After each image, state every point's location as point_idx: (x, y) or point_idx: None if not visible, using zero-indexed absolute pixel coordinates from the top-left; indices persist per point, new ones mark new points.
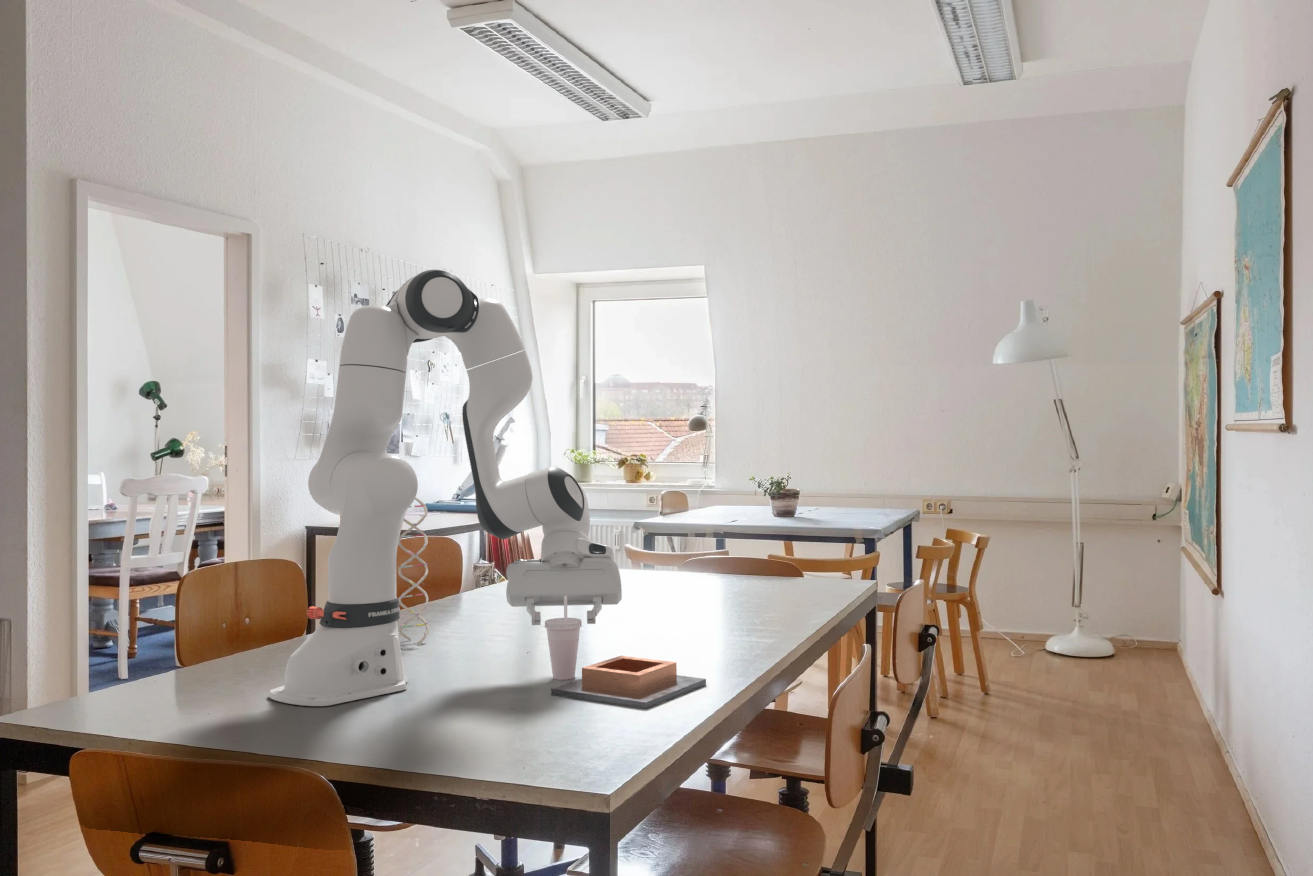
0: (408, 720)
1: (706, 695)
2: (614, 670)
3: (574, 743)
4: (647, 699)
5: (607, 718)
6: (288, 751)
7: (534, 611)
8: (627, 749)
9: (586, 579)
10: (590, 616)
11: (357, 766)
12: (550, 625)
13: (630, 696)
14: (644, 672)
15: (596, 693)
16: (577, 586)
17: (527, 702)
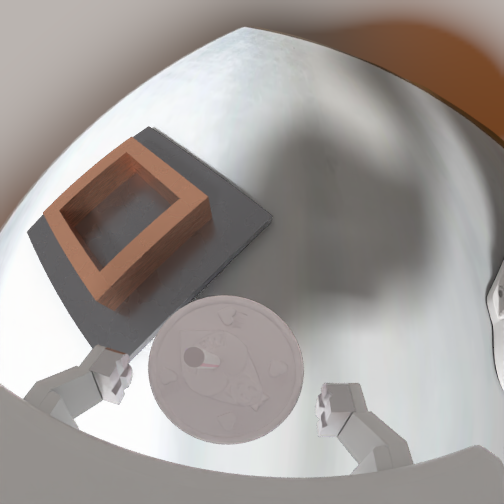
0: (431, 156)
1: (58, 184)
2: (153, 167)
3: (254, 67)
4: (140, 136)
5: (207, 109)
6: (462, 120)
7: (357, 410)
8: (214, 56)
9: (24, 495)
10: (109, 353)
11: (404, 79)
12: (281, 319)
13: (154, 150)
14: (115, 151)
15: (197, 170)
16: (92, 484)
17: (311, 187)
